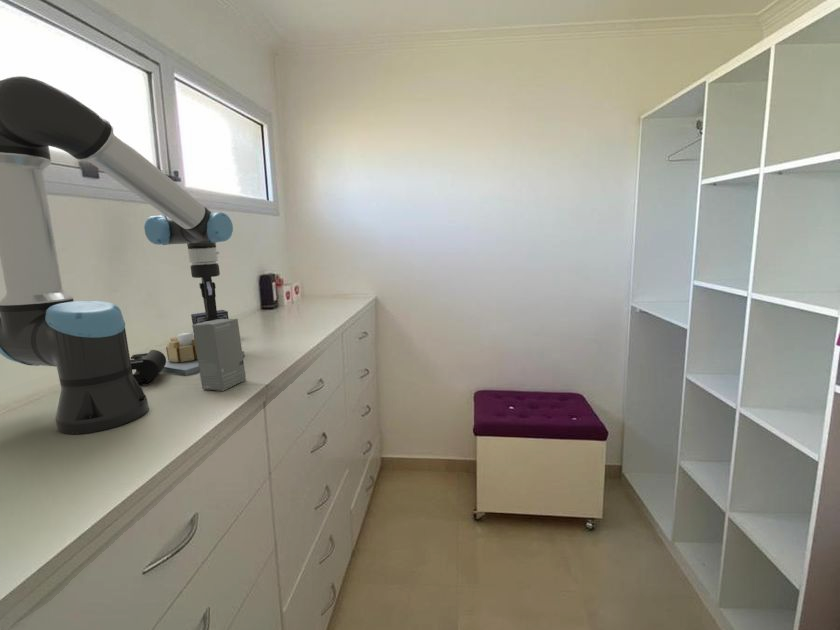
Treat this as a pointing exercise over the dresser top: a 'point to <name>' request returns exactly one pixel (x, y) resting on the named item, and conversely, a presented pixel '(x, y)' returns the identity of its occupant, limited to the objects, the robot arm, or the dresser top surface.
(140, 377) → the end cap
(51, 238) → the robot arm
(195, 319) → the small box
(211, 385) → the grey rectangular box
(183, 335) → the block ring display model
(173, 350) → the gold ring with handle
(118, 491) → the dresser top surface
